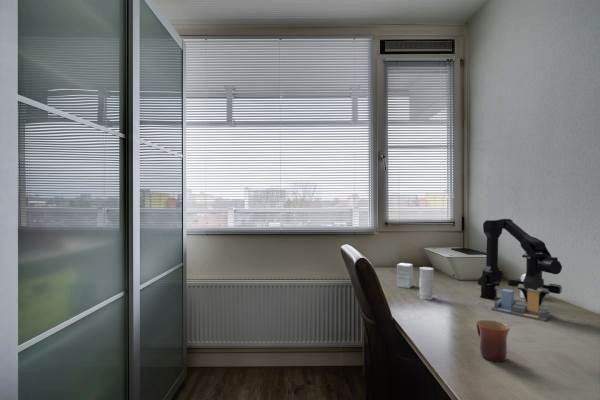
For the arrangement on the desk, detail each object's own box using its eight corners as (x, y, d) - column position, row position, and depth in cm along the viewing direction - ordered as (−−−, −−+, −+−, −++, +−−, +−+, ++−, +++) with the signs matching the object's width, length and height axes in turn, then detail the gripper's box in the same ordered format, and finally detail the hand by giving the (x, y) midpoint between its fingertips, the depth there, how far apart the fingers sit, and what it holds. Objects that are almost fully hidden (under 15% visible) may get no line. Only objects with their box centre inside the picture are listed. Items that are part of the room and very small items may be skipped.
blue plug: (501, 307, 153) (501, 290, 153) (503, 305, 156) (503, 288, 156) (511, 309, 151) (511, 292, 151) (513, 307, 153) (513, 290, 153)
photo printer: (527, 294, 179) (527, 271, 179) (536, 296, 175) (537, 272, 175) (518, 297, 173) (518, 273, 173) (527, 299, 169) (528, 275, 169)
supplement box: (400, 283, 199) (400, 262, 199) (413, 285, 195) (413, 264, 195) (396, 286, 193) (396, 264, 193) (409, 288, 189) (409, 266, 189)
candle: (419, 299, 169) (419, 269, 169) (419, 295, 175) (419, 266, 175) (433, 300, 166) (434, 270, 166) (433, 296, 173) (433, 267, 173)
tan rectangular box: (529, 307, 149) (529, 289, 149) (540, 309, 146) (540, 291, 146) (527, 309, 146) (527, 291, 146) (538, 312, 144) (538, 293, 144)
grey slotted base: (491, 310, 153) (491, 303, 153) (498, 304, 161) (498, 298, 161) (545, 321, 139) (545, 314, 139) (550, 314, 147) (550, 307, 147)
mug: (516, 363, 102) (516, 330, 102) (488, 364, 102) (489, 330, 102) (490, 346, 114) (490, 316, 114) (466, 347, 114) (466, 316, 114)
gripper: (504, 268, 147) (504, 304, 147) (558, 275, 134) (557, 314, 134) (511, 265, 155) (510, 299, 155) (562, 271, 142) (561, 308, 142)
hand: (533, 305), depth 146 cm, fingers closed on tan rectangular box, 4 cm apart
